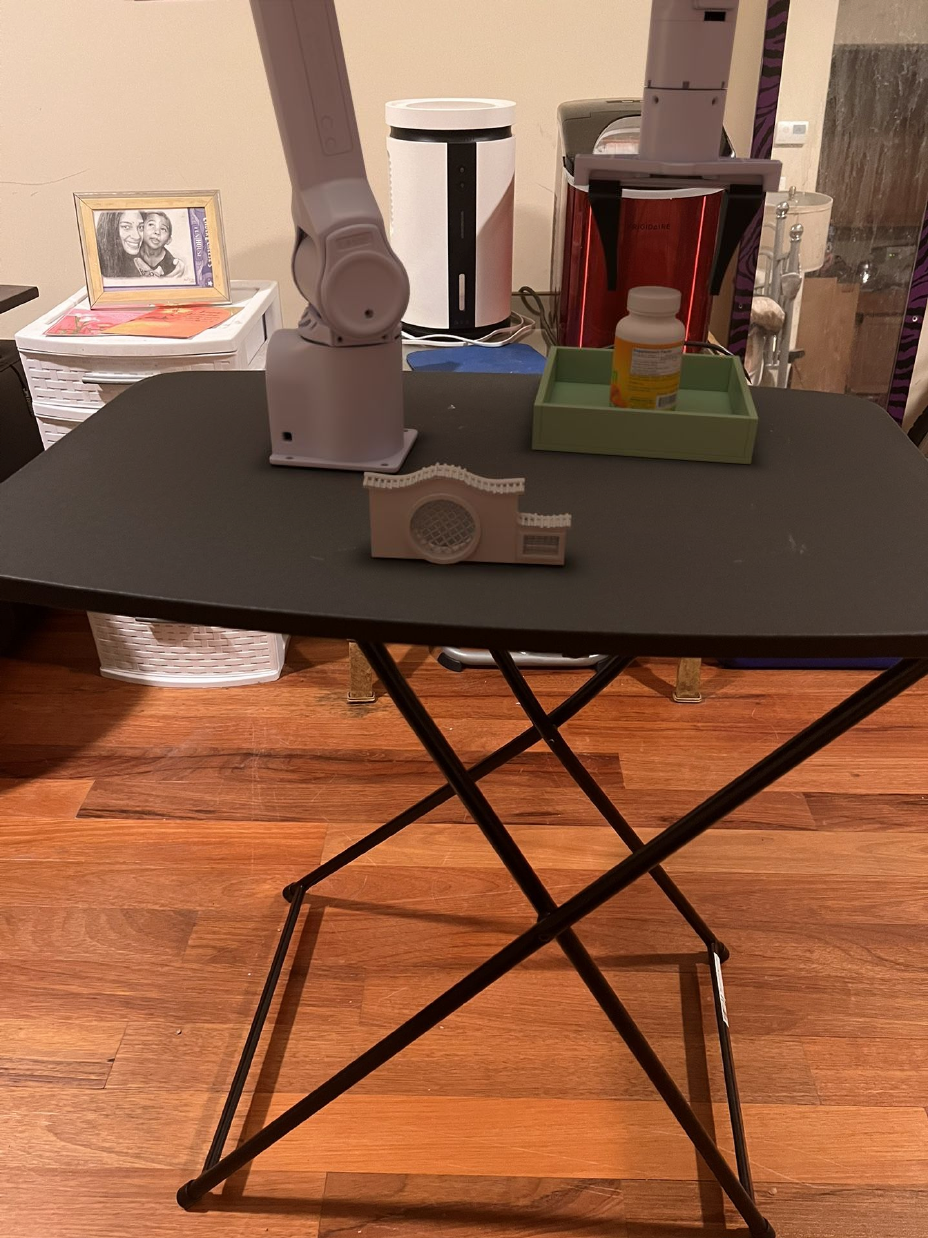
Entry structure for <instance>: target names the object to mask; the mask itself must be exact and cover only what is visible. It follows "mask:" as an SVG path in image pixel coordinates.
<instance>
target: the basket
mask: <svg viewBox="0 0 928 1238" xmlns="http://www.w3.org/2000/svg"><path fill="white" fill-rule="evenodd" d="M613 354H614V348H597V347H579V346H562V345H561V346H560V345H559V346H557V345H551V346H550V348H549V352H548V355H547V359H546V362H545V366H544V369H543V373H542V376H541V378H540V383H539V386H538V390H537V393H536V397H535V401H534V404H533V413H532V415H533V416H532V436H531V437H532V438H531V450H533V451H534V450H536V451H550V452H563V453H564V452H565V453H578V454H593V455H607V456H608V455H609V456H610V455H611V456H623V457H637V458H650V459H652V458H653V459H664V460H665V459H666V460H668V459H669V460H682V461H696V462H710V463H723V464H725V463H726V464H740V465H751V464H752V460H753V459H752V458H753V454H754V449H755V448H754V447H755V442H756V436H757V432H758V425H759V421H760V420H759V417H758V413H757V410H756V407H755V403H754V399H753V397H752V394H751V389H750V387H749V384H748V381H747V378H746V374H745V371H744V368H743V365H742V360H741V358H740V356H739V355H728V354H727V355H725V354H710V353H709V354H707V353H706V354H705V353H690V352H689V353H688V352H683V356H682V364H681V372H680V380H679V388H678V396H677V404H676V411H663V410H647V409H631V408H615V407H609V398H610V387H611V376H612V365H613Z"/></svg>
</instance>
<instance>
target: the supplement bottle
mask: <svg viewBox="0 0 928 1238" xmlns="http://www.w3.org/2000/svg"><path fill="white" fill-rule="evenodd" d="M680 291H681V290H678V289H676V288H673V287H672V288H671V287H667V286H658V285H645V286H636V287H633V288H630V289H629V290H628V294H627V303H626V304H627V307H626V309H627V311H628V312H629V313H628V315H626V316H624V317H623V318H621V319H620V320H619V321H618V322H617V324H616V328H615V333H614V334H615V335H614V343H613V349H614V354H613V365H612V376H611V387H610V398H609V407H615V408H631V409H647V410H663V411H676V404H677V396H678V388H679V380H680V372H681V364H682V356H683V353H684V347H685V340H686V327H685V325H684V323H683V322H682V321H681V320H680V319H678V318H676V316H677V315H676V314H678V313H679V312H680V309H681V302H682V301H681V299H682V293H681V292H680Z"/></svg>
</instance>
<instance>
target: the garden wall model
mask: <svg viewBox="0 0 928 1238" xmlns="http://www.w3.org/2000/svg"><path fill="white" fill-rule="evenodd" d="M363 472H364V473H363V482H362V489H368V498H369V501H368V502H369V522H370V524H369V525H370V546H371V547H370V548H371V549H370V550H371V557H372V558H389V559H390V558H391V559H392V558H393V559H414V560H415V559H416V560H425V561H428V562H430V563H434V564H440V565H451V564H455V563H459V562H460V561H461V562H483V563H484V562H486V563H508V564H510V563H511V564H533V565H534V564H535V565H558V566H559V565H560V566H564V565H565V554H566V552H565V551H566V539H567V538H566V537H567V530H571V528H572V526H571V525H572V524H571V523H572V515H571V514H569V513H568V512H567V513H566V512H565V514H561V513H559V515H556V514H552V516H551V515H549V514H548V515H546V516H545V515H543V514H541V515H538V514H537V512H535V513H530V512H528V513H526V512H519V510H518V509H519V495H525V480H526V478H524V477H516V478H515V477H514V478H503V479H502V478H499V479H496V478H495V479H494V478H486V477H482V476H479V475H478V474H477V475H476V474H474V473H473V472H469V471H467V468H463V469H462V467H461V466H460V465H459V466H455V464H451V465H448V464H447V463H444V464H441V465H440V462H436V463H435V465H430V466H428V467H425V466H423V467H422V469H420V470H419V469H418V470H417V471H415V472H411V473H407V474H401V475H392V474H385V473H379V472H372V471H363ZM440 500H441V501H440ZM449 501H450V502H451V503H450V502H449ZM433 502H435V503H436V504H435V505H433V504H432V503H433ZM444 502H445V504H446V506H445V507H443V506H442V505H441V504H443V503H444ZM454 505H456V507H454V508H453V506H454ZM426 506H429V507H430V508H429V509H425V507H426ZM437 507H439V508H440V510H439V511H437V510H436V509H435V508H437ZM463 508H464V509H463ZM421 509H422V511H423V512H422V513H420V514H419V513H418V512H419V511H420V510H421ZM447 509H449V511H448V512H446V510H447ZM458 509H459V510H460V512H459V513H458V514H457V513H456V512H455V511H457V510H458ZM431 511H432V512H433V513H434V514H431V516H430V514H429V512H431ZM467 512H468V514H469V515H467V514H466V513H467ZM441 513H443V515H442V516H440V514H441ZM451 514H453V515H454V516H453V517H450V516H449V515H451ZM414 515H416V517H413V516H414ZM425 515H426V516H427V518H426V519H424V520H423V518H422V517H423V516H425ZM462 515H463V516H464V518H463V519H460V516H462ZM435 517H437V519H436V520H434V519H433V518H435ZM445 518H446V519H447V520H446V521H444V520H443V519H445ZM470 519H472V520H473V522H472V521H471V520H470ZM417 520H419V521H420V523H418V524H417V525H416V523H415V521H417ZM454 520H457V523H454V522H453V521H454ZM428 521H430V522H431V523H429V524H428V525H427V524H426V523H427V522H428ZM466 521H467V522H468V523H469V524H467V526H465V524H464V522H466ZM438 522H440V523H441V524H440V525H439V526H438V525H437V524H436V523H438ZM449 523H450V524H451V527H449V528H448V526H447V525H448V524H449ZM422 525H423V526H424V527H422V528H421V529H419V527H420V526H422ZM460 525H461V527H462V528H461V529H460V530H459V529H458V528H457V527H458V526H460ZM431 526H433V527H434V529H432V530H430V528H431ZM443 527H444V528H445V530H444V531H443V532H442V531H441V530H440V529H441V528H443ZM469 528H472V529H473V531H471V532H469V531H468V529H469ZM453 529H454V530H455V531H456V532H455V533H452V532H451V531H452V530H453ZM425 530H426V531H427V533H426V534H425V535H423V533H422V532H424V531H425ZM464 531H465V533H466V535H465V536H463V535H462V533H463V532H464ZM435 532H438V535H436V536H435V535H434V533H435ZM446 533H448V534H449V537H446V536H445V534H446ZM428 536H430V537H431V539H429V540H427V539H426V538H427V537H428ZM457 536H459V537H460V539H458V540H457V539H456V537H457ZM440 537H441V538H442V539H443V540H442V541H440V542H439V541H438V540H437V539H438V538H440ZM451 539H452V540H453V541H454V543H452V544H450V542H449V541H450V540H451ZM462 541H463V542H462ZM433 542H435V544H436V545H435V544H433ZM461 542H462V543H461ZM445 543H446V545H447V546H442V545H444V544H445Z"/></svg>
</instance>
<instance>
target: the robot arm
mask: <svg viewBox="0 0 928 1238" xmlns="http://www.w3.org/2000/svg"><path fill="white" fill-rule="evenodd" d="M248 2H249V6H250V10H251V15H252V19H253V23H254V27H255V28H254V29H255V32H256V36H257V41H258V45H259V49H260V54H261V57H262V58H261V59H262V63H263V67H264V68H263V69H264V71H265V76H266V80H267V81H266V82H267V85H268V89H269V93H270V97H271V102H272V107H273V111H274V115H275V120H276V125H277V128H278V132H279V137H280V142H281V147H282V150H283V155H284V159H285V163H286V166H287V172H288V177H289V181H290V185H291V203H290V204H291V205H290V208H291V209H290V211H291V218H292V221H293V227H294V233H295V234H294V245H293V249H292V254H291V257H290V273H291V277H292V281H293V282H294V285H295V288H296V289H297V291H298V292H299V294H300V295H301V296H302V298H303V299H304V301H306V302H307V306H306V307H305V308H304V311H303V313H302V315H301V317H300V320H298V322H297V327H298V328H296V327H295V328H279V329H276V330H275V331H274V332H273V333H272V335H271V337H270V339H269V341H268V344H267V349H266V353H265V354H266V355H265V367H264V370H265V371H264V372H265V373H264V374H265V375H264V377H265V378H264V379H265V390H266V399H267V409H268V411H267V412H268V419H269V420H268V421H269V430H270V431H269V432H270V442H271V451H272V452H271V455H270V456H269V463H270V464H271V465H276V466H277V465H278V466H291V467H302V468H303V467H305V468H317V469H319V468H320V469H321V468H322V469H333V470H347V471H361V472H371V473H386V474H387V473H388V474H394V473H398V472H399V470H400V469H401V467H402V465H403V463H405V462H404V461H405V460H406V459H407V456H408V455H409V452H410V451H411V449H412V447H413V446H414V443H415V442H416V440H417V438H418V437H419V432H418V430H417V429H414V428H405V413H404V411H405V410H404V407H405V406H404V363H403V358H404V357H403V333H402V331H403V323H402V322H401V321H402V319H403V318H404V316H405V314H406V313H407V309H408V306H409V303H410V299H411V284H410V278H409V275H408V272H407V269H406V267H405V265H404V264H403V262H402V260H401V259H400V258H399V257H398V255H397V254H396V253H395V251H394V250H393V248H392V246H391V245H390V242H389V240H388V236H387V232H386V226H385V221H384V217H383V214H382V213H381V210H380V207H379V204H378V202H377V200H376V198H375V195H374V193H373V190H372V188H371V185H370V183H369V179H368V176H367V175H368V174H367V171H366V164H365V159H364V154H363V148H362V144H361V138H360V137H361V136H360V132H359V127H358V121H357V116H356V111H355V106H354V101H353V95H352V90H351V84H350V80H349V74H348V73H349V72H348V69H347V62H346V57H345V52H344V46H343V41H342V37H341V31H340V26H339V20H338V14H337V10H336V4H335V1H334V0H248ZM739 6H740V0H651V9H650V17H649V29H648V38H647V40H648V41H647V51H646V61H645V71H644V81H643V89H642V92H643V93H642V101H641V112H640V124H639V133H638V134H639V135H638V145H637V153H577V154H576V155H575V156H574V171H573V186H579V187H580V186H581V187H587V186H588V189H587V196H586V197H587V200H588V203H589V207H590V209H591V212H592V215H593V219H594V221H595V224H596V227H597V231H598V234H599V238H600V242H601V247H602V251H603V257H604V263H605V271H606V291H608V292H609V291H610V292H617V286H618V285H617V284H618V274H619V273H618V272H619V233H620V224H621V223H620V222H621V211H622V199H623V189H624V187H653V188H654V187H656V188H683V189H684V188H685V189H712V190H713V189H716V190H723V192H722V193H721V199H720V200H721V201H720V210H719V218H718V227H717V236H716V243H715V249H714V254H713V257H712V261H711V268H710V273H709V279H708V288H707V290H708V294H709V296H716V297H717V296H718V297H719V296H720V295H721V294H720V293H721V289H722V285H723V282H724V279H725V276H726V274H727V271H728V268H729V265H730V263H731V261H732V259H733V256H734V254H735V252H736V250H737V248H738V246H739V244H740V243H741V240H742V239H743V236H744V235H745V233H746V232H747V230H748V228H749V227H750V225H751V223H752V222H753V220H754V218H755V217H756V216H757V214H758V212H759V210H760V209H761V206H762V204H763V200H764V196H763V193H778V192H779V190H780V183H781V177H782V173H783V172H782V171H783V162H782V161H781V160H780V159H767V158H751V157H750V158H749V157H735V156H719V155H720V147H721V140H722V132H723V125H724V120H725V119H724V118H725V111H726V104H727V103H726V102H727V95H728V88H729V82H730V73H731V67H732V60H733V52H734V51H733V50H734V43H735V36H736V30H737V21H738V14H739V8H740V7H739ZM651 175H663V176H689V177H690V176H701V177H702V179H691V178H690V179H689V178H660V177H659V178H657V177H656V178H655V177H650V176H651Z"/></svg>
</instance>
